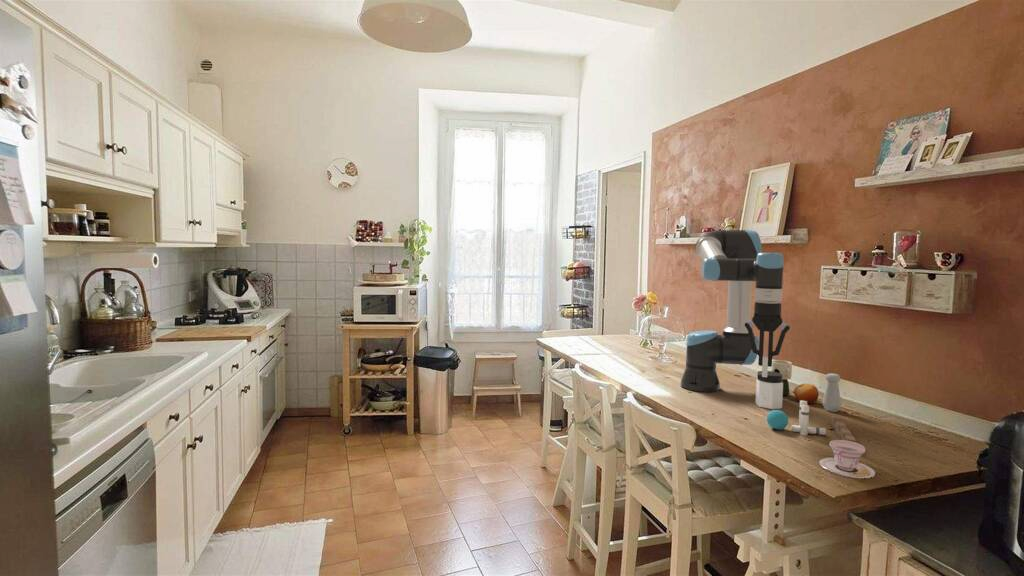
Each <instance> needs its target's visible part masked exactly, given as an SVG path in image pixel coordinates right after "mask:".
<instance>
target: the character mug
mask: <svg viewBox="0 0 1024 576" xmlns="http://www.w3.org/2000/svg"><path fill="white" fill-rule="evenodd" d="M770 368H771V371H772V372H778V373H781V374H782V375H783V378H782V382H783V396H785V395H789V394H790V385H789V384H790V383H789V380H791V379H792V373H793V362H791V361H788V360H779V359H774V360H773V359H772V366H771V367H770Z"/></svg>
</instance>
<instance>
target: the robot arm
mask: <svg viewBox="0 0 1024 576" xmlns="http://www.w3.org/2000/svg"><path fill="white" fill-rule="evenodd" d="M694 249H695V252H696V255H697V256H698V257H699V259H701V260H702V264H701V277H702V279H703V280H705V281H711V282H712V281H713V282H715V281H717V282H719V281H722V282H723V281H725V282H726V281H727V308H726V309H727V311H726V315H727V316H726V327H725V328H723V329H722V334H719V333H718V332H717V331H716V330H707V329H706V330H698V331H697V330H696V331H692V332H689V333H688V334H687V336H686V343H685V345H686V355H685V369H684V371H683V374H682V377H681V379H680V386H682V388H683V387H684V388H683V389H685V388H687V389H686V390H688V389H690V390H689V391H693V390H694V391H693V392H699V391H700V393H713V392H718V391H720V389H721V383H720V379H719V376H718V374H717V364H724V365H739V366H750V365H753V364H754V363H755V362H756V360H757V358H758V361H757V363H758V366H760V367H762V369H761V371H762V377H767V372H768V371H769V369H768V368H769V367H770V368H772V367H771V366H772V361H773V357H775V356H779V354H780V352H781V349H782V347H783V344H784V339H785V336H786V334H787V333H788V331H789V330H790V328H791V326H790V325H789V324H786V323H785V322H783V318H782V303H781V302H782V299H783V281H784V279H783V278H784V266H785V263H784V254H782V253H781V252H763V251H762V241H761V237H760V235H759V233H758V232H757V231H756V230H749V229H747V230H746V229H740V230H738V229H734V230H733V229H732V230H731V229H730V230H723V229H722V230H721V229H720V230H719V229H716V230H712V231H709V232H706V233H704V234H703V235H701V236H700V237H699V238H698V239H697V241H696V242H695V248H694ZM752 282H755V287H754V288H755V289H754V291H755V292H754V301H756V302H754V306H753V307H754V310H753V316H752V319H751V309H752V306H751V305H752V301H751V300H752ZM754 325H755V327H756V329H757V330H758V331H759V338H758V337H757V336H756V335H755V331H754V330H753V327H754ZM779 327H780V329H781V332H780V335H779V337H778V341H777V343H776V346H775V349H773V347H774V346H773V345H774V332H776V330H777V329H778V328H779ZM765 332H767V333H768V343H767V344H768V347H767V355H766V354H764V348H765V347H764V345H765V343H764V342H765Z"/></svg>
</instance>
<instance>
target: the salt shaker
mask: <svg viewBox="0 0 1024 576" xmlns="http://www.w3.org/2000/svg"><path fill="white" fill-rule="evenodd" d="M825 380H826V381H827V382H826V387H825V390H824V394H823V398H822V402H821V403H822V406H823V408H824V411H827V412H833V413H834V412H835V413H837V412H839V410H840V408H841V407H842V400H841V394H840V386H839V385H840V384H839V382H840V381H841V376H840V375H839V374H837V373H827V374H826V376H825Z"/></svg>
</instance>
